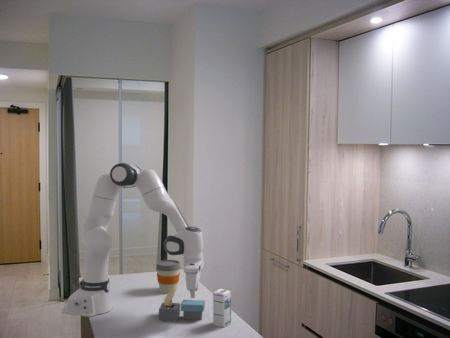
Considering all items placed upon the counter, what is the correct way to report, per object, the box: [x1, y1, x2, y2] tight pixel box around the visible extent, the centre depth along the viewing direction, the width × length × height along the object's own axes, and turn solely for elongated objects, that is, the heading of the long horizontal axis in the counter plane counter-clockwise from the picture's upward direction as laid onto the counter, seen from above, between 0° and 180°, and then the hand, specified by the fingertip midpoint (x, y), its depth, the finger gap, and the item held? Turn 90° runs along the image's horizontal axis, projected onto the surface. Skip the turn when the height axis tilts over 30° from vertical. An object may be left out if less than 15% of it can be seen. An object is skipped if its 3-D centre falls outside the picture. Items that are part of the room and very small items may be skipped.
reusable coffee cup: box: [155, 259, 181, 294], centre depth 240 cm, size 13×13×15 cm
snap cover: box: [180, 299, 206, 313], centre depth 203 cm, size 10×6×3 cm, turn 86°
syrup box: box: [212, 288, 232, 328], centre depth 196 cm, size 6×6×14 cm
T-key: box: [163, 289, 176, 308], centre depth 204 cm, size 14×2×10 cm, turn 176°
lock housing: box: [158, 302, 203, 322], centre depth 204 cm, size 18×8×5 cm, turn 86°
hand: (194, 293), depth 204 cm, fingers open, 8 cm apart
